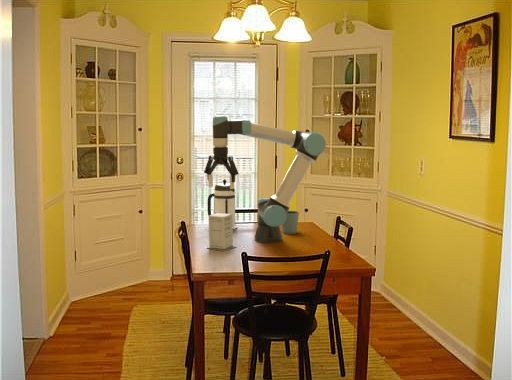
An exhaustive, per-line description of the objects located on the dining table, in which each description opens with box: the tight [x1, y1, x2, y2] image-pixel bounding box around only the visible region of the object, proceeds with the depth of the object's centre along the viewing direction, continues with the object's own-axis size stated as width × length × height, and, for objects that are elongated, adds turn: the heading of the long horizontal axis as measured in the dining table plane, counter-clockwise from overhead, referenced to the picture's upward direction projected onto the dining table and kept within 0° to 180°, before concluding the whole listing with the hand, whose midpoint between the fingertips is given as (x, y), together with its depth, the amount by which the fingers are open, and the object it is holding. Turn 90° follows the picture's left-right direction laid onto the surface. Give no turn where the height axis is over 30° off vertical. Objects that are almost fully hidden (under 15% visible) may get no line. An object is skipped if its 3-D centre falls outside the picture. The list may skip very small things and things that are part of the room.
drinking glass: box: [281, 210, 300, 235], centre depth 344 cm, size 10×10×12 cm
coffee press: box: [207, 179, 238, 230], centre depth 352 cm, size 17×16×30 cm
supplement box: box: [208, 213, 234, 249], centre depth 305 cm, size 10×9×17 cm
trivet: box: [206, 245, 237, 252], centre depth 306 cm, size 11×11×1 cm
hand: (221, 187), depth 303 cm, fingers open, 13 cm apart
